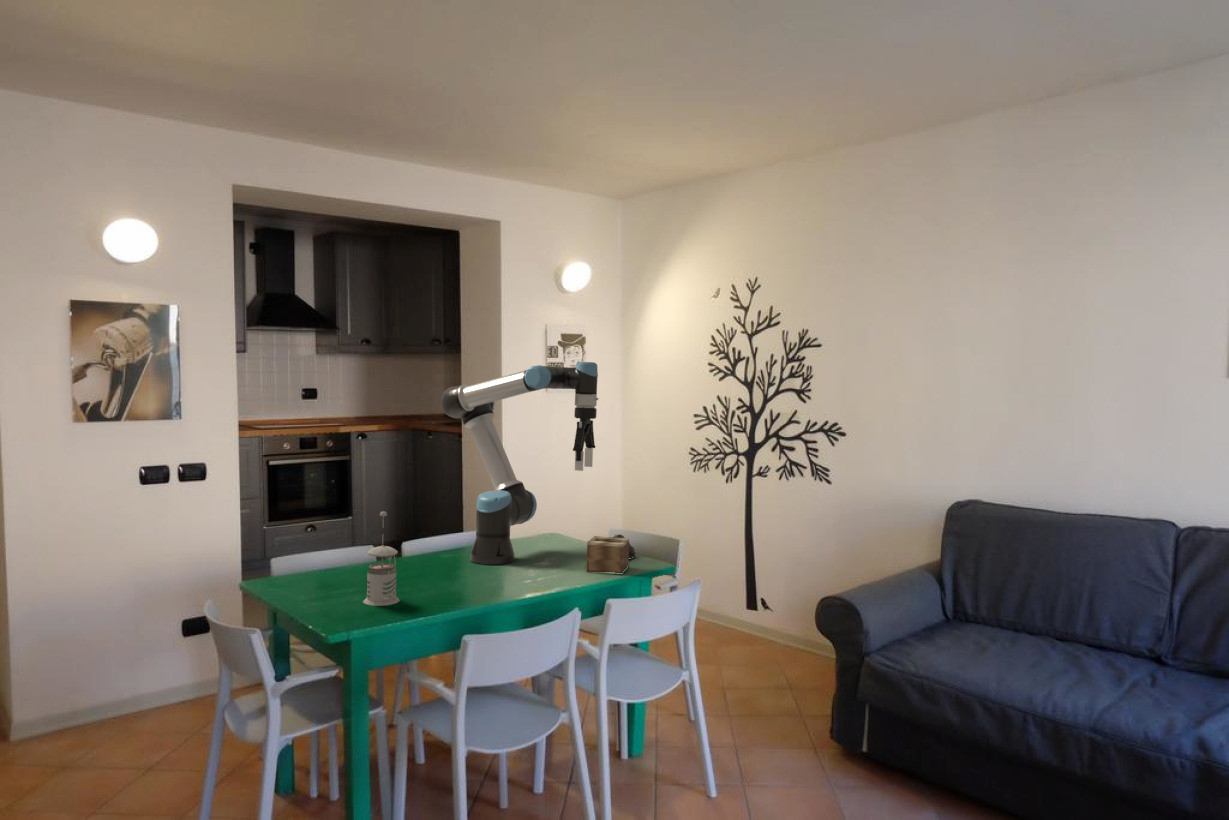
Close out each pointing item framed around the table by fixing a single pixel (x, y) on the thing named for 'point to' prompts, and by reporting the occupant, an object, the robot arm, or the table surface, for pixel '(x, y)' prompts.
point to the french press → (381, 577)
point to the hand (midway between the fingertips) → (583, 468)
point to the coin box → (607, 554)
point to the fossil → (631, 549)
